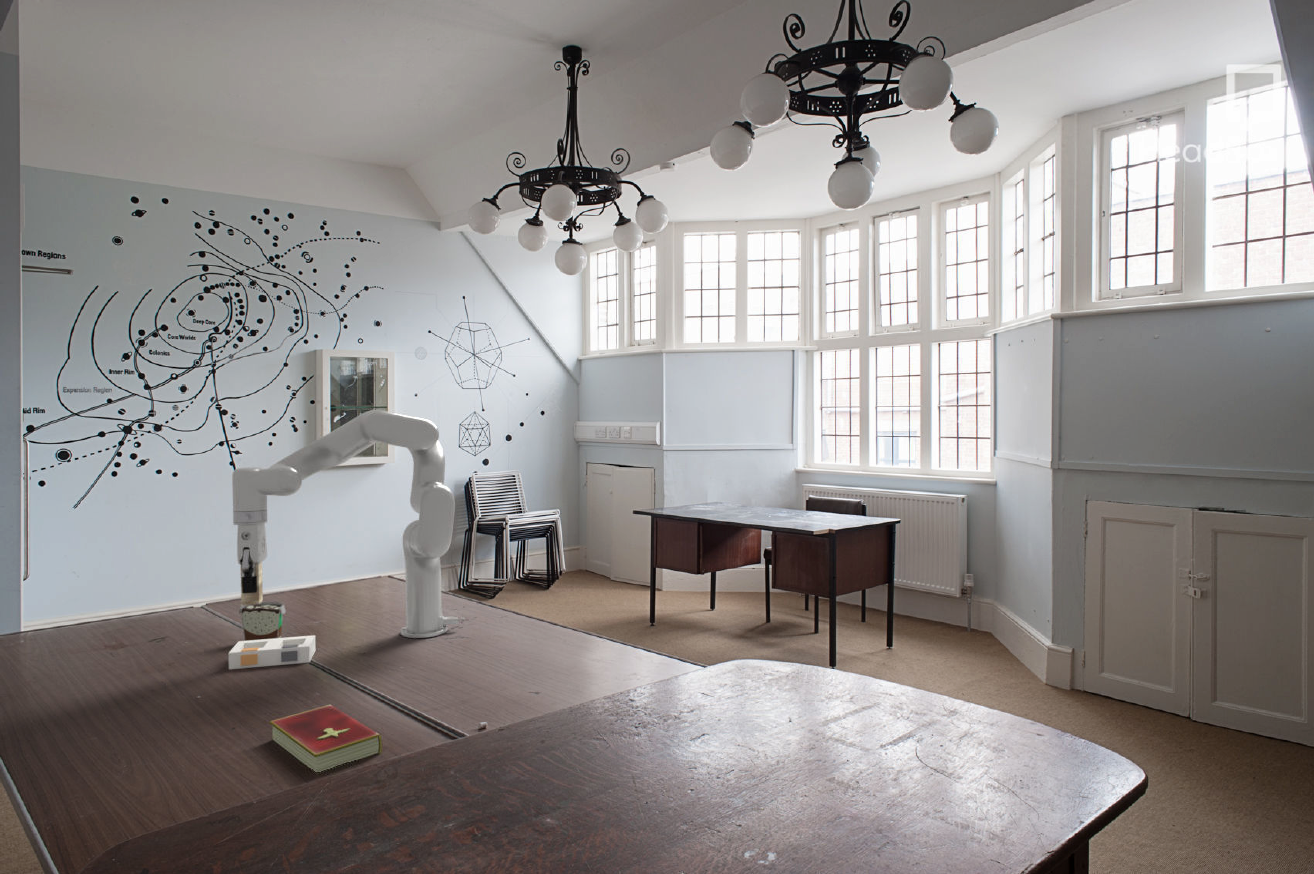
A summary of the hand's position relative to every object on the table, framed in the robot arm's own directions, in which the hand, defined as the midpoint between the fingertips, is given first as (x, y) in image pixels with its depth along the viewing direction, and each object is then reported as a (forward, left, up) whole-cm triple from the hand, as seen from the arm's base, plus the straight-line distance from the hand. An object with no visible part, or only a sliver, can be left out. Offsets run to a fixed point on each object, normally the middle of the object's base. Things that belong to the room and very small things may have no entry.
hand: (251, 589), depth 194 cm
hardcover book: (-24, +58, -19) cm, 66 cm away
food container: (0, -19, -18) cm, 26 cm away
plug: (0, 0, -3) cm, 3 cm away
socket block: (-5, 0, -18) cm, 19 cm away
